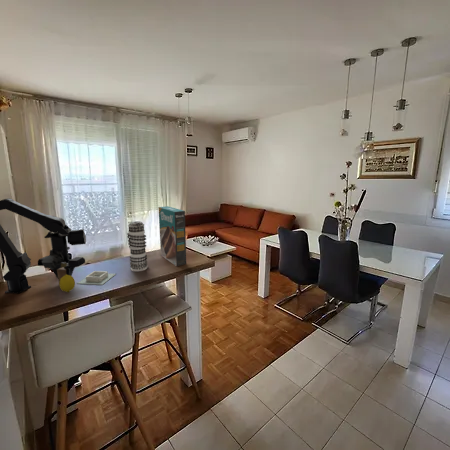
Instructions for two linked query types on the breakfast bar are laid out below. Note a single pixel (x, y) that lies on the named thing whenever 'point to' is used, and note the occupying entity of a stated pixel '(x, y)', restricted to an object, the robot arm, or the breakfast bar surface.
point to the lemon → (67, 283)
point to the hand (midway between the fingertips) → (64, 279)
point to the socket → (97, 278)
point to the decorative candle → (137, 246)
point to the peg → (61, 273)
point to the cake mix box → (172, 235)
